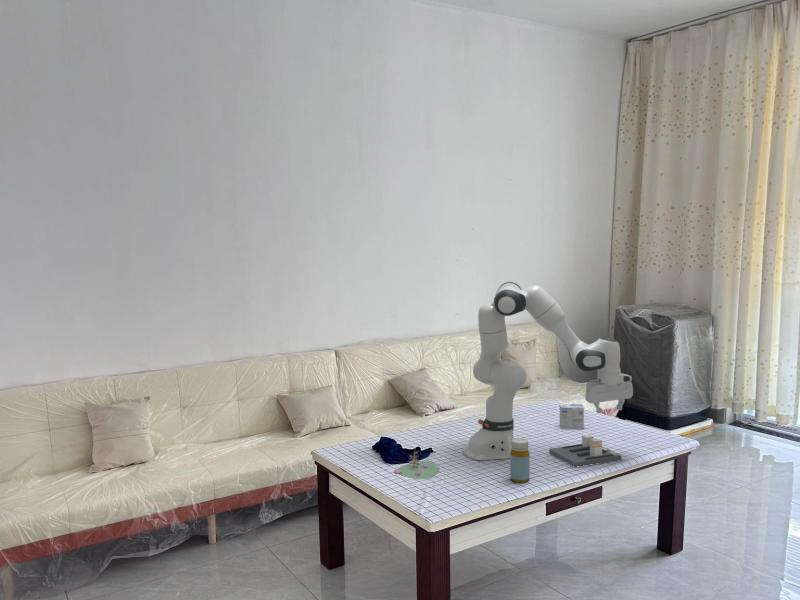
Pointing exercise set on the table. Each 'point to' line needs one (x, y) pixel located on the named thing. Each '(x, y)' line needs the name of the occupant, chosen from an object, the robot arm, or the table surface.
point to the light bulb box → (571, 416)
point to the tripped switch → (595, 450)
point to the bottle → (519, 460)
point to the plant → (418, 469)
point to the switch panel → (584, 453)
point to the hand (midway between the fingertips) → (609, 411)
